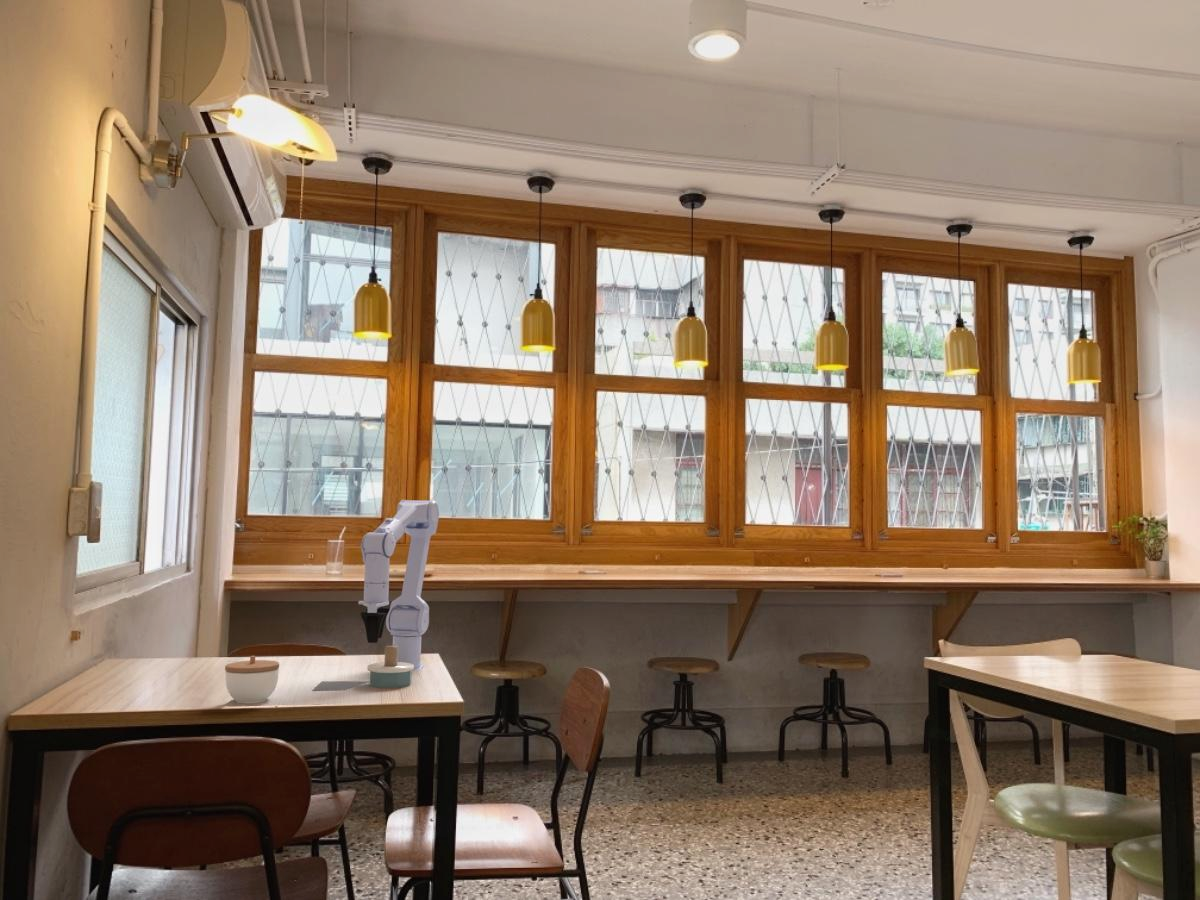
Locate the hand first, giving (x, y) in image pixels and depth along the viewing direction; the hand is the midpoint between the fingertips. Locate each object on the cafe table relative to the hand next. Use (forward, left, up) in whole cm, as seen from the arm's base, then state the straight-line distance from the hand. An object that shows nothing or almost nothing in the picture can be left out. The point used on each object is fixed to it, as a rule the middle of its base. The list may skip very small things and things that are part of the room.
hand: (374, 640), depth 217 cm
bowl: (+6, +5, -10) cm, 12 cm away
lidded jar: (+22, -22, -10) cm, 33 cm away
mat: (+7, -6, -10) cm, 13 cm away
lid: (+6, +5, -6) cm, 9 cm away
